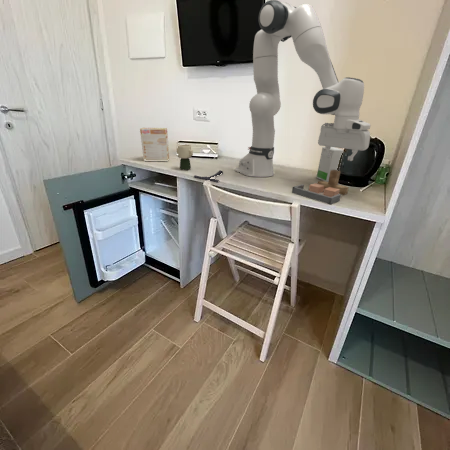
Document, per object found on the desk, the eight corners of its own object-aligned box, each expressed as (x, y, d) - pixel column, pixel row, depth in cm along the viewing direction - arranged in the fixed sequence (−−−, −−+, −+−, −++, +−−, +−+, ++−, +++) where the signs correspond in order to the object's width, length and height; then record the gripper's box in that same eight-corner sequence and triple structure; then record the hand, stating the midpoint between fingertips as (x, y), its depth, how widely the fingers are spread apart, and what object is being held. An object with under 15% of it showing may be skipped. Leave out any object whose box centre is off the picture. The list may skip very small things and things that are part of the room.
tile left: (308, 191, 114) (309, 184, 113) (314, 189, 117) (315, 183, 116) (317, 194, 111) (318, 187, 110) (323, 192, 114) (324, 185, 113)
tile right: (323, 195, 109) (324, 189, 108) (328, 193, 112) (329, 187, 111) (333, 198, 106) (334, 191, 105) (338, 196, 109) (339, 189, 108)
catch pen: (291, 192, 112) (292, 187, 111) (301, 189, 116) (302, 184, 115) (330, 204, 100) (331, 198, 98) (339, 200, 104) (340, 194, 103)
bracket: (233, 177, 135) (233, 171, 134) (217, 183, 124) (217, 178, 122) (210, 173, 142) (210, 168, 141) (193, 179, 131) (193, 173, 129)
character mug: (197, 169, 146) (196, 145, 140) (189, 172, 140) (188, 147, 135) (181, 166, 151) (180, 143, 145) (173, 169, 145) (172, 145, 140)
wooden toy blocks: (316, 187, 119) (320, 168, 116) (320, 186, 121) (323, 167, 117) (343, 195, 111) (348, 174, 107) (347, 193, 112) (352, 173, 108)
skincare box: (315, 177, 135) (321, 146, 128) (326, 176, 137) (332, 146, 130) (326, 182, 128) (333, 149, 121) (337, 181, 130) (344, 149, 123)
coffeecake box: (169, 159, 168) (167, 127, 160) (167, 162, 162) (165, 128, 153) (146, 159, 168) (142, 127, 159) (143, 161, 161) (139, 128, 153)
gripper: (317, 122, 109) (313, 156, 115) (368, 125, 95) (359, 163, 101) (325, 122, 113) (320, 154, 119) (375, 124, 99) (366, 161, 104)
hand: (339, 158), depth 110 cm, fingers open, 8 cm apart
